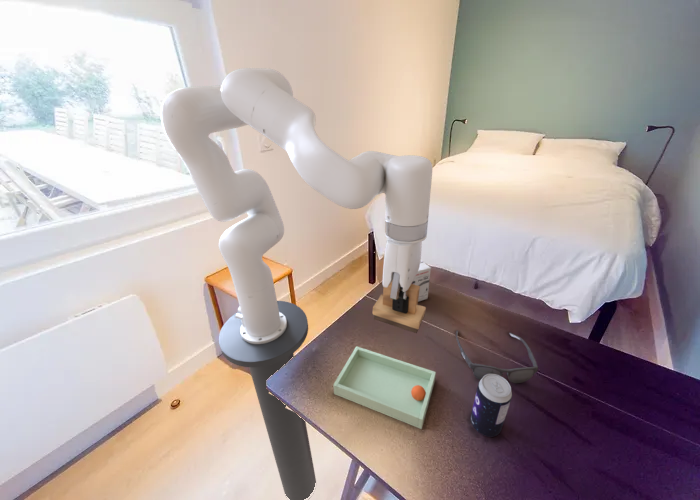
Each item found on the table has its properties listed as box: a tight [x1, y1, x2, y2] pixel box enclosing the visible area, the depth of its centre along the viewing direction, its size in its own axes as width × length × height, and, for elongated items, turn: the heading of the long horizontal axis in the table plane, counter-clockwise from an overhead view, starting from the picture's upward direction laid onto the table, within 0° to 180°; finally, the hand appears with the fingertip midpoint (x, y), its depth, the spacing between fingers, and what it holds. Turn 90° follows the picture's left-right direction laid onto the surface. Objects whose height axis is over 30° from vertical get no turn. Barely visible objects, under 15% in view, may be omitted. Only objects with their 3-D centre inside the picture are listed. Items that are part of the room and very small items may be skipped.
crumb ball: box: [411, 385, 426, 401], centre depth 67 cm, size 3×3×3 cm
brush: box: [372, 280, 427, 334], centre depth 65 cm, size 10×5×10 cm, turn 64°
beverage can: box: [470, 374, 513, 438], centre depth 59 cm, size 6×6×12 cm
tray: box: [333, 345, 437, 430], centre depth 70 cm, size 20×12×3 cm, turn 65°
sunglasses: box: [455, 330, 539, 384], centre depth 76 cm, size 16×17×5 cm
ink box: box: [413, 259, 432, 303], centre depth 95 cm, size 9×5×12 cm, turn 114°
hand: (401, 307), depth 65 cm, fingers closed on brush
